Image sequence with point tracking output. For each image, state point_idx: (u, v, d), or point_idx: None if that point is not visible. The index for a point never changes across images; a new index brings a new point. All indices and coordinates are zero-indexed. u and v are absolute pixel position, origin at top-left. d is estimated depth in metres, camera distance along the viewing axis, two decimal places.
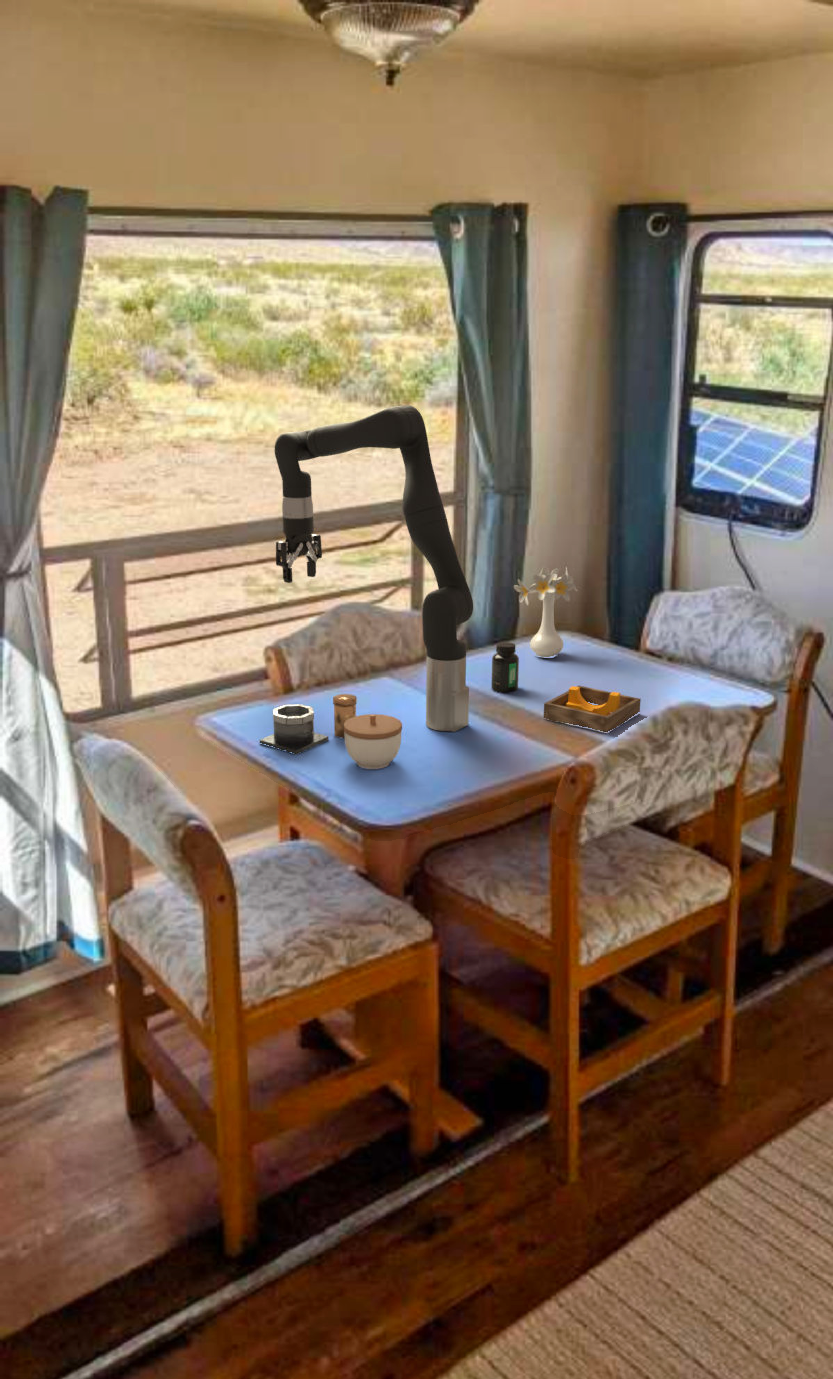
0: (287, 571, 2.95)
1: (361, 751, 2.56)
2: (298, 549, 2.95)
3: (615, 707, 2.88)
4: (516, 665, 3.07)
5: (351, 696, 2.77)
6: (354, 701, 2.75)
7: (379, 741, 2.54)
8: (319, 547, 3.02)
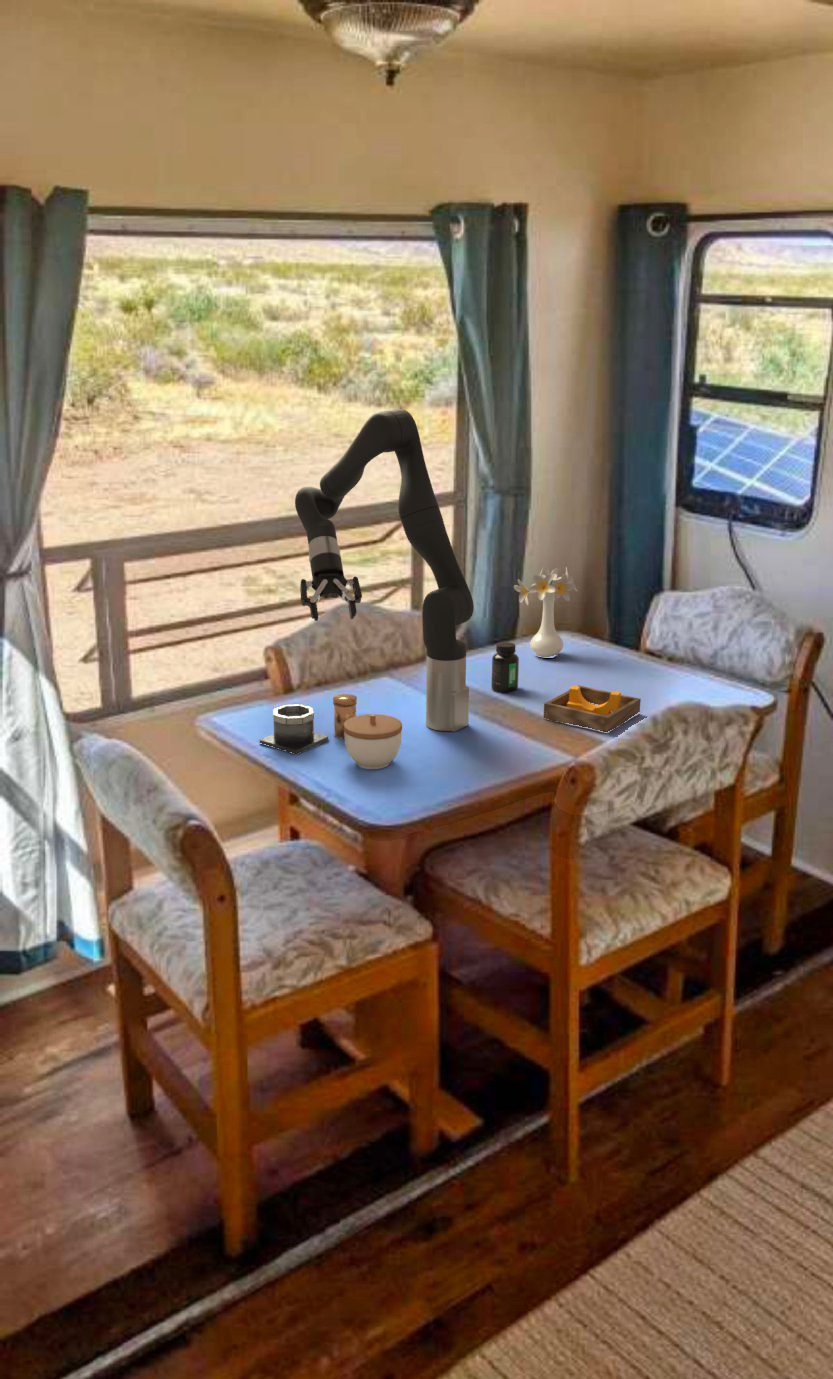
0: (311, 607, 2.81)
1: (361, 751, 2.56)
2: (322, 585, 2.83)
3: (616, 706, 2.88)
4: (516, 665, 3.07)
5: (351, 696, 2.77)
6: (354, 701, 2.75)
7: (379, 741, 2.54)
8: (357, 587, 2.85)
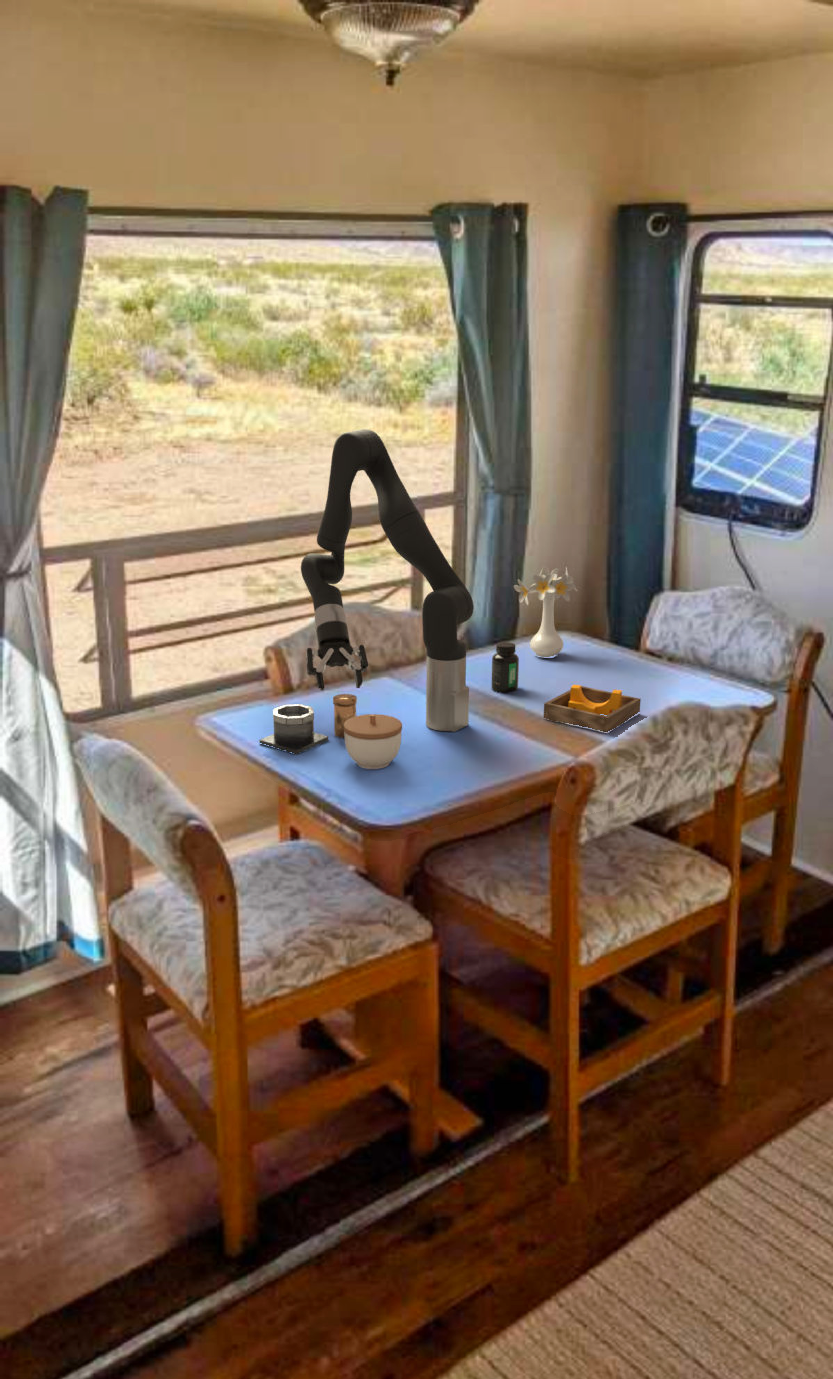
0: (317, 676, 2.80)
1: (361, 751, 2.56)
2: (328, 654, 2.82)
3: (617, 705, 2.89)
4: (516, 665, 3.07)
5: (351, 696, 2.77)
6: (354, 701, 2.75)
7: (379, 741, 2.54)
8: (363, 656, 2.84)
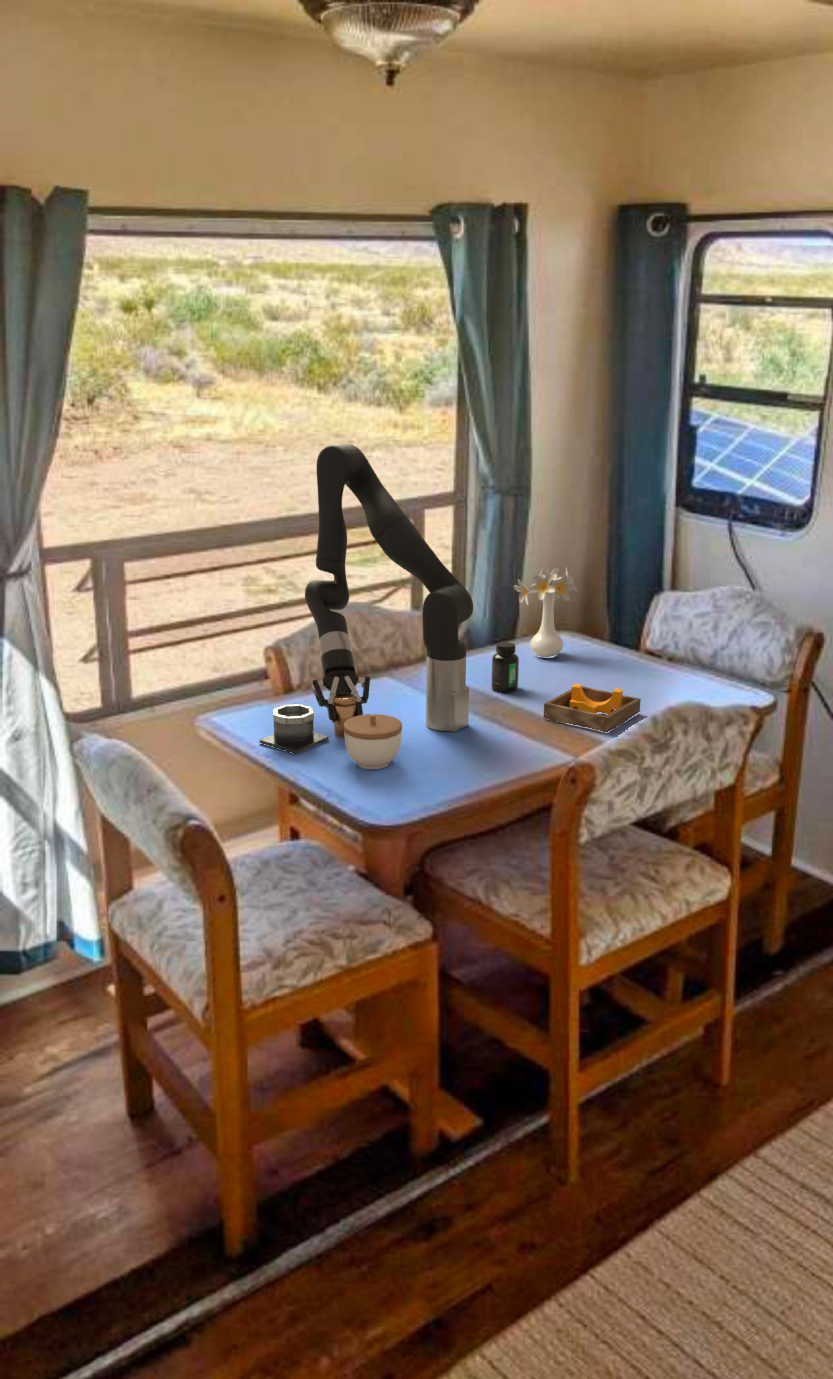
0: (329, 708, 2.76)
1: (361, 751, 2.56)
2: (334, 683, 2.78)
3: (619, 703, 2.90)
4: (516, 665, 3.07)
5: (351, 696, 2.77)
6: (354, 701, 2.75)
7: (379, 741, 2.54)
8: (366, 688, 2.79)
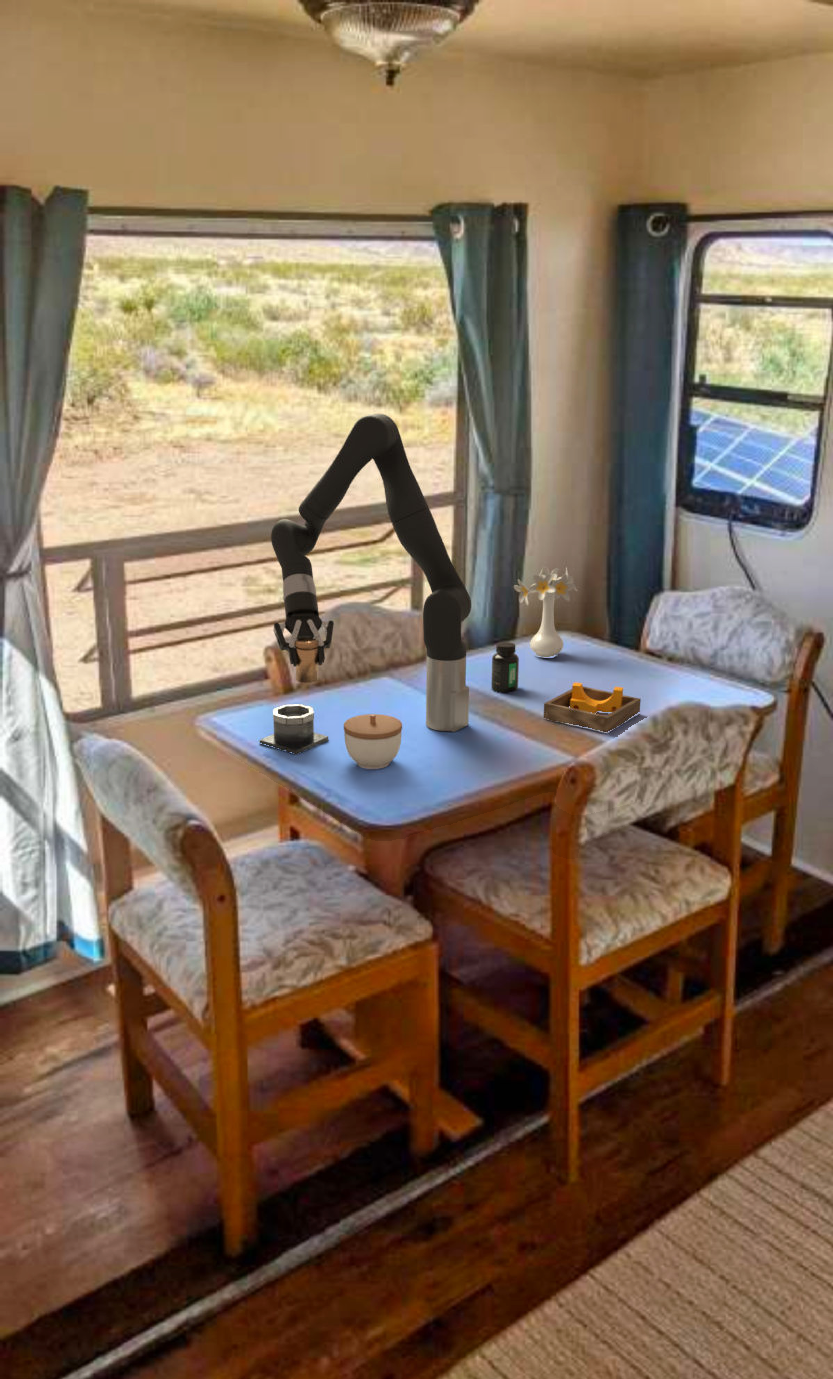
0: (290, 652, 2.68)
1: (361, 751, 2.56)
2: (296, 626, 2.70)
3: (619, 702, 2.91)
4: (516, 665, 3.07)
5: (313, 640, 2.69)
6: (316, 644, 2.68)
7: (379, 741, 2.54)
8: (329, 632, 2.72)
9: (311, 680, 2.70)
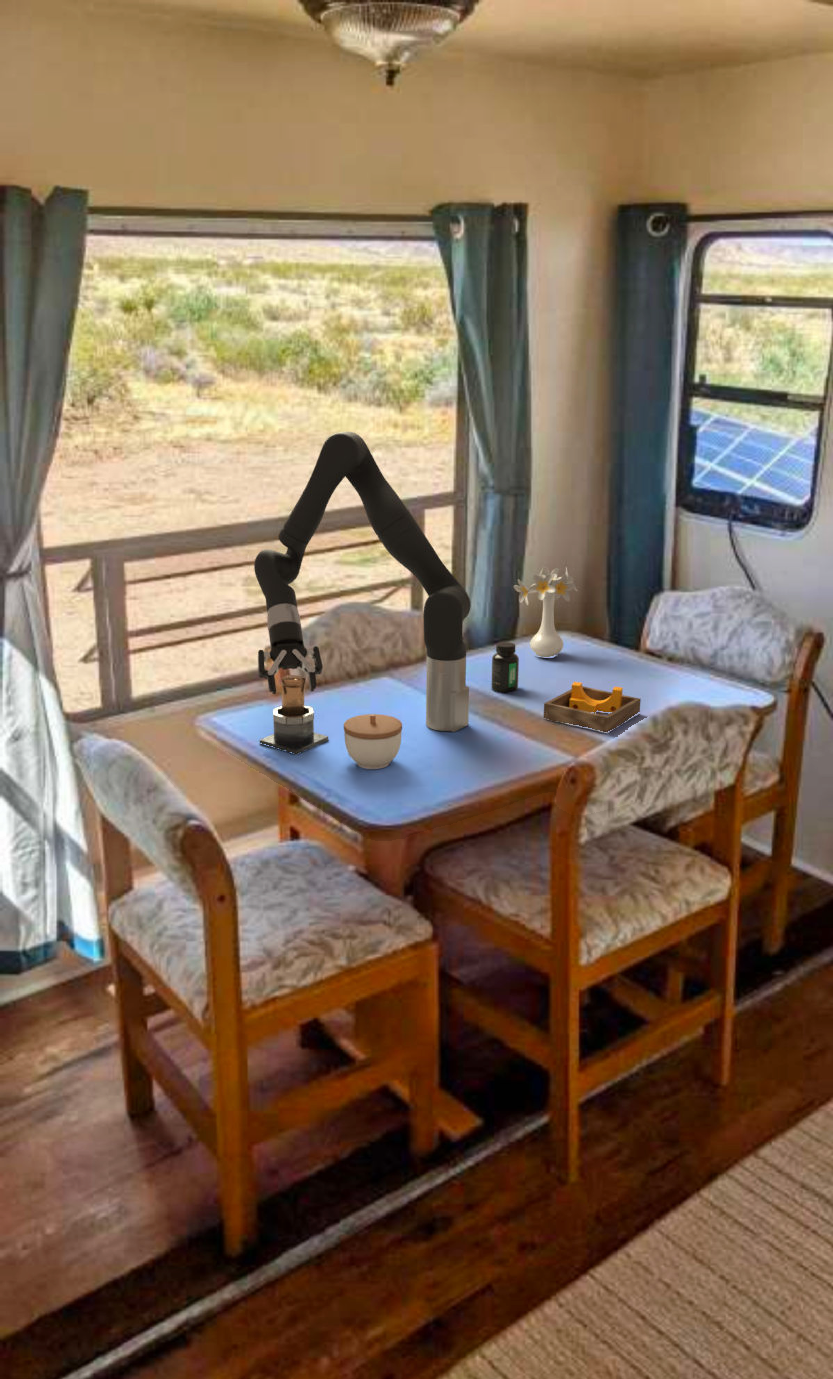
0: (269, 679, 2.68)
1: (361, 751, 2.56)
2: (280, 656, 2.70)
3: (618, 702, 2.91)
4: (516, 665, 3.07)
5: (300, 677, 2.70)
6: (303, 682, 2.69)
7: (379, 741, 2.54)
8: (317, 658, 2.72)
9: None
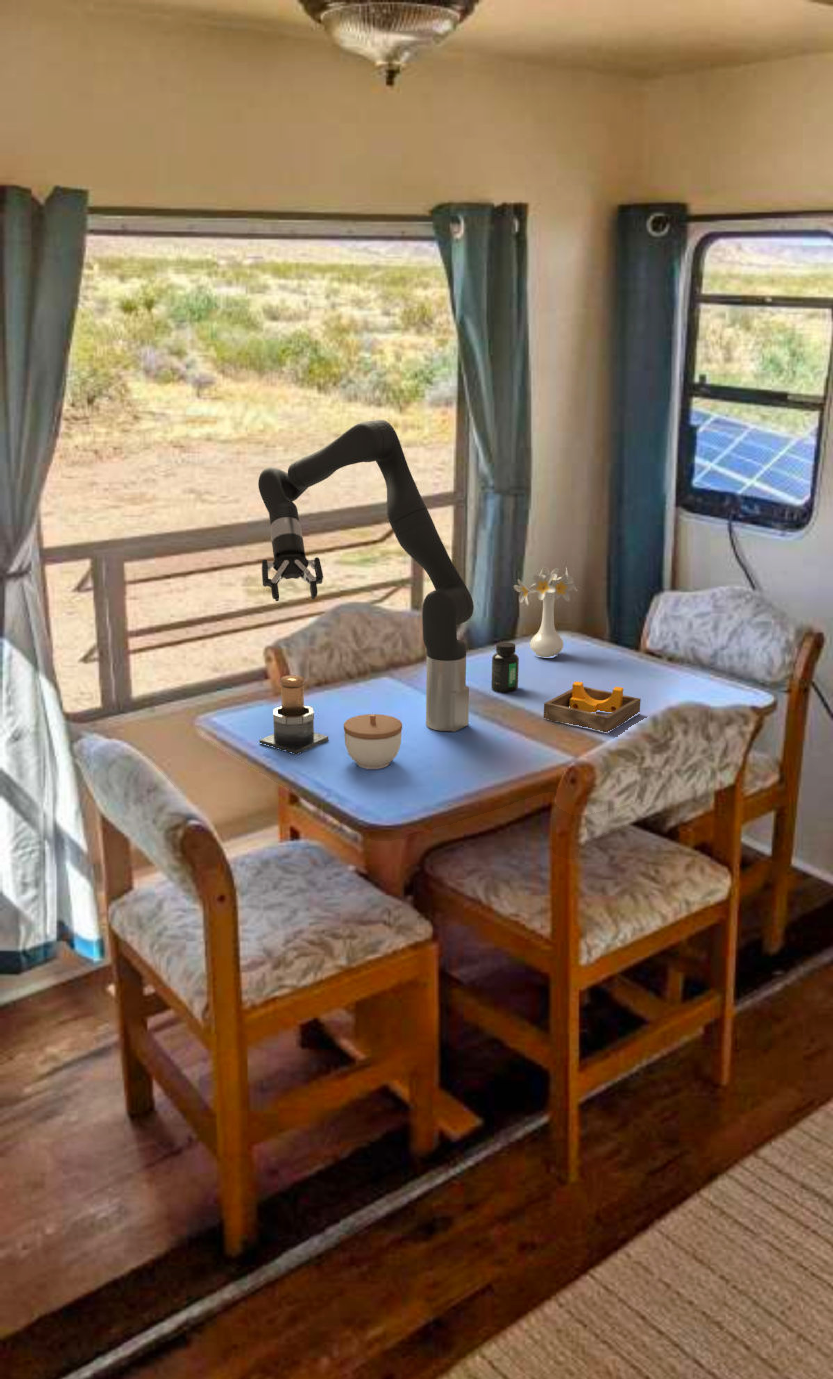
0: (272, 587, 2.83)
1: (361, 751, 2.56)
2: (283, 565, 2.84)
3: (618, 702, 2.91)
4: (516, 665, 3.07)
5: (299, 677, 2.70)
6: (301, 682, 2.68)
7: (379, 741, 2.54)
8: (318, 568, 2.86)
9: None
